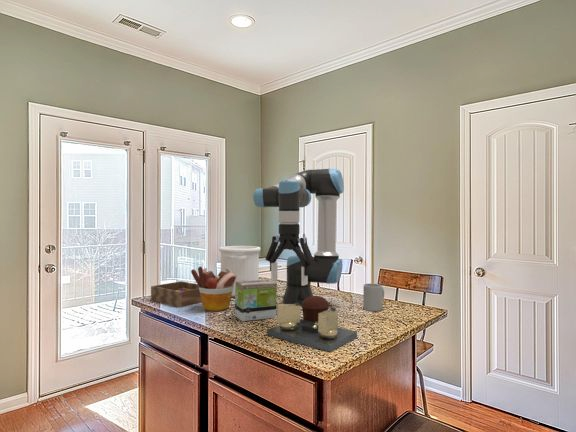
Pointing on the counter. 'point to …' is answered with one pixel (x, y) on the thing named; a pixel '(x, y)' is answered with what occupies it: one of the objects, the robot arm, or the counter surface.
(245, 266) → the bucket
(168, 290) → the book tray
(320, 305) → the muffin
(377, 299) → the mug
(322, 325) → the knob
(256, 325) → the counter surface
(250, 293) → the tea box
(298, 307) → the knob
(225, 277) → the bucket of meat
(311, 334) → the levelling plate
